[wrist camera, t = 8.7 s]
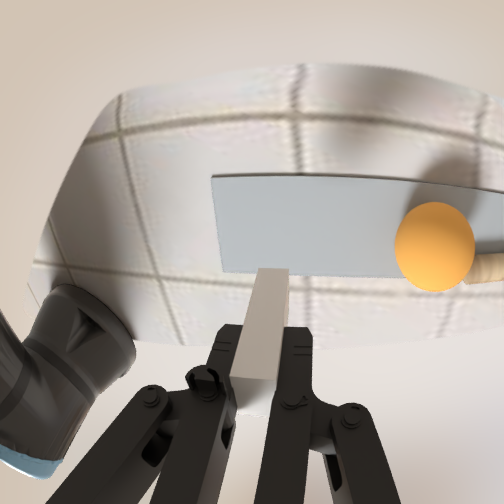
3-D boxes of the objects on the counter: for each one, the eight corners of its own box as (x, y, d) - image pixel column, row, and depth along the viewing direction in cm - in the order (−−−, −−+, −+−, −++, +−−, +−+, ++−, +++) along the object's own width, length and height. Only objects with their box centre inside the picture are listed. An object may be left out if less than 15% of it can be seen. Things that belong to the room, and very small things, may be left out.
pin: (458, 264, 20) (520, 259, 18) (464, 290, 18) (527, 282, 16) (468, 248, 18) (532, 245, 16) (476, 276, 16) (540, 268, 14)
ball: (470, 281, 17) (407, 260, 21) (484, 205, 14) (414, 189, 19) (453, 320, 13) (375, 290, 18) (477, 224, 11) (383, 202, 15)
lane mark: (223, 270, 24) (223, 272, 24) (211, 177, 20) (210, 178, 20) (510, 276, 18) (511, 278, 18) (532, 199, 14) (533, 200, 14)
